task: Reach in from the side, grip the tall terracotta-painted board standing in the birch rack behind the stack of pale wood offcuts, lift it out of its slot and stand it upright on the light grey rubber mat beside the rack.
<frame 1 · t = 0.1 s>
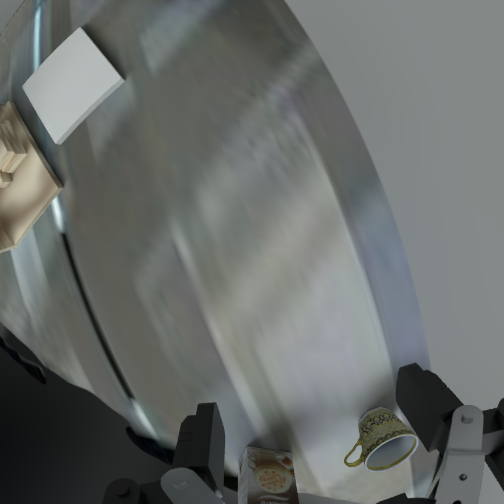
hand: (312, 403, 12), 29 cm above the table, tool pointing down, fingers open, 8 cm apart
coffee box: (264, 457, 49), on the table
offcut stack: (10, 146, 34), point 1 cm above the table, touching rack
mat: (70, 83, 34), on the table
ceramic cup: (366, 421, 48), on the table
rack: (10, 172, 36), on the table
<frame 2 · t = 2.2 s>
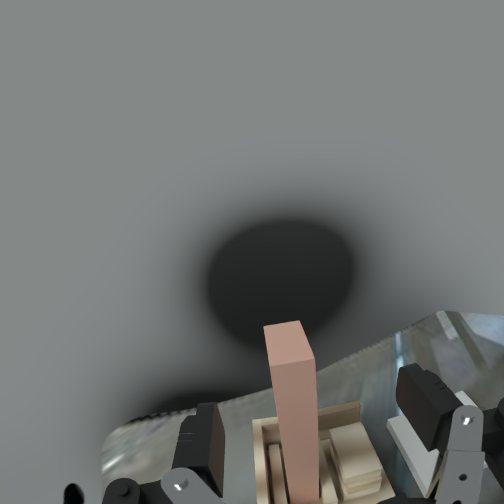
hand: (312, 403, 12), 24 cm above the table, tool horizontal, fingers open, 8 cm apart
offcut stack: (352, 471, 26), point 1 cm above the table, touching rack
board: (301, 483, 26), point 1 cm above the table, touching rack
mat: (447, 442, 27), on the table
rack: (326, 500, 24), on the table
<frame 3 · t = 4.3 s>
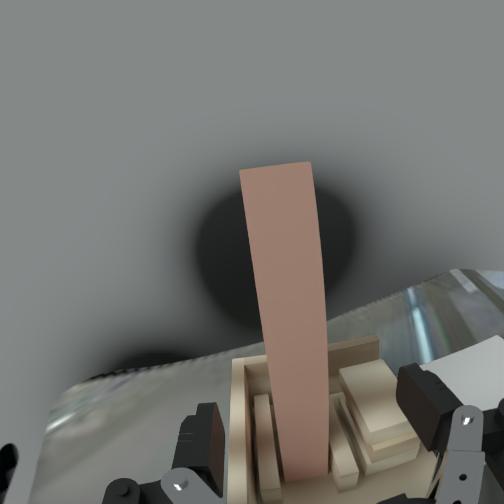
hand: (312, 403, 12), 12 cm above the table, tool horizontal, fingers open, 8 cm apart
offcut stack: (374, 433, 20), point 1 cm above the table, touching rack
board: (300, 450, 20), point 1 cm above the table, touching rack
mat: (492, 394, 20), on the table
rack: (338, 477, 17), on the table
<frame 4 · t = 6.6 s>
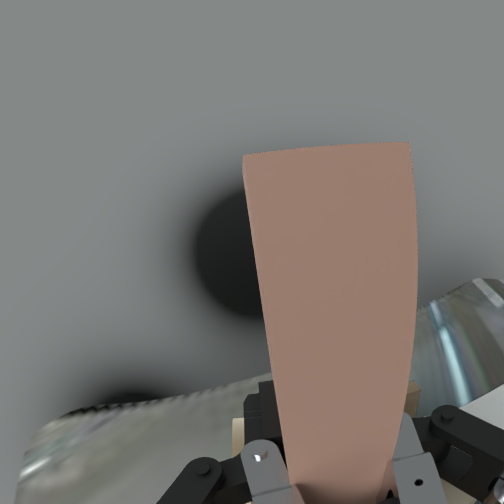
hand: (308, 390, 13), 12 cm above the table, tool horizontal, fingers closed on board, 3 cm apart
offcut stack: (410, 503, 12), point 1 cm above the table, touching rack
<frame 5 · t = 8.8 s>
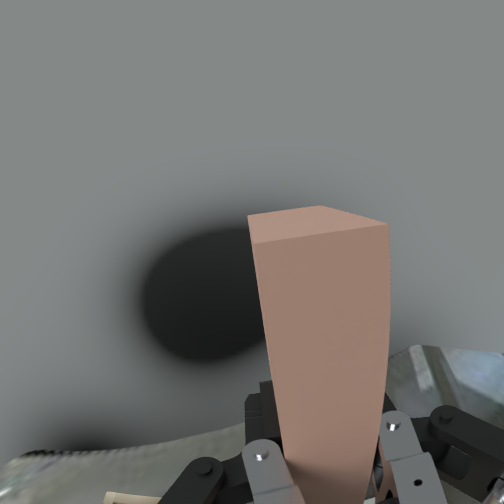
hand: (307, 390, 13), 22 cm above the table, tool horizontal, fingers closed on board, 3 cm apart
when the fingers open (16 cm above the table, at t = 11.0 s): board stays where it is, resting on mat.
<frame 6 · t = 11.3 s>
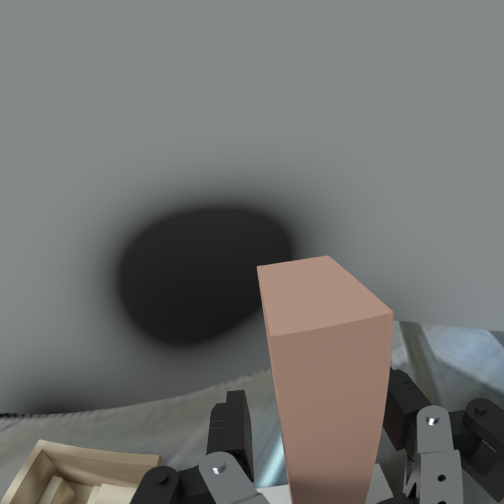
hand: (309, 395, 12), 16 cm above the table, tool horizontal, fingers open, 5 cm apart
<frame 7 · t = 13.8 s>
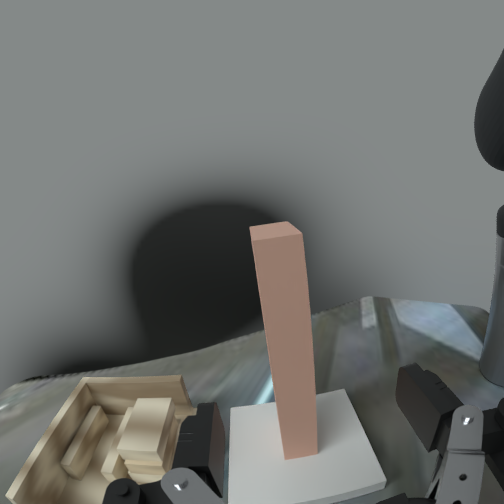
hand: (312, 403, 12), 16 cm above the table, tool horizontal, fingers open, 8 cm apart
offcut stack: (160, 454, 24), point 1 cm above the table, touching rack
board: (296, 435, 26), point 1 cm above the table, touching mat
mat: (298, 452, 25), on the table
rack: (129, 477, 22), on the table
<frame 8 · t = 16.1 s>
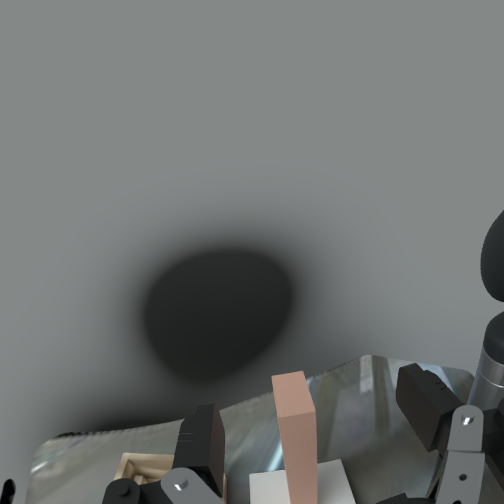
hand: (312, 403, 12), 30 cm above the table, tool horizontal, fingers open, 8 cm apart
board: (301, 499, 29), point 1 cm above the table, touching mat
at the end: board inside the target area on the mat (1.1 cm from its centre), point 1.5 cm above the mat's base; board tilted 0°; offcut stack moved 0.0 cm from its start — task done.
